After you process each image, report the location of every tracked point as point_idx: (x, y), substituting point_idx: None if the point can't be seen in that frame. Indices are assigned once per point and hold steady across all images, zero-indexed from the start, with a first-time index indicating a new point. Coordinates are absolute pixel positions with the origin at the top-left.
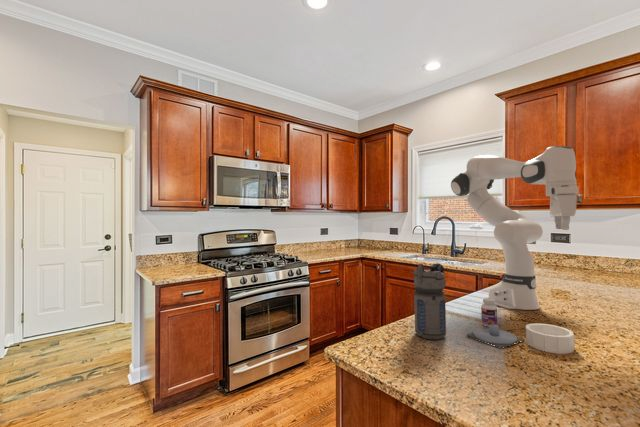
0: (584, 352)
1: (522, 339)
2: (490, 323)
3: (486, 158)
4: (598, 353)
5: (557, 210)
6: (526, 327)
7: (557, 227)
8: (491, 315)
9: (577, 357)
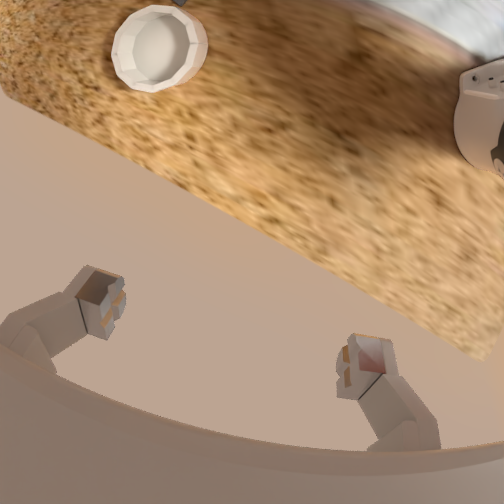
0: (151, 101)
1: (179, 3)
2: None
3: None
4: (153, 123)
5: (17, 440)
6: (156, 5)
7: (353, 346)
8: None
9: None
